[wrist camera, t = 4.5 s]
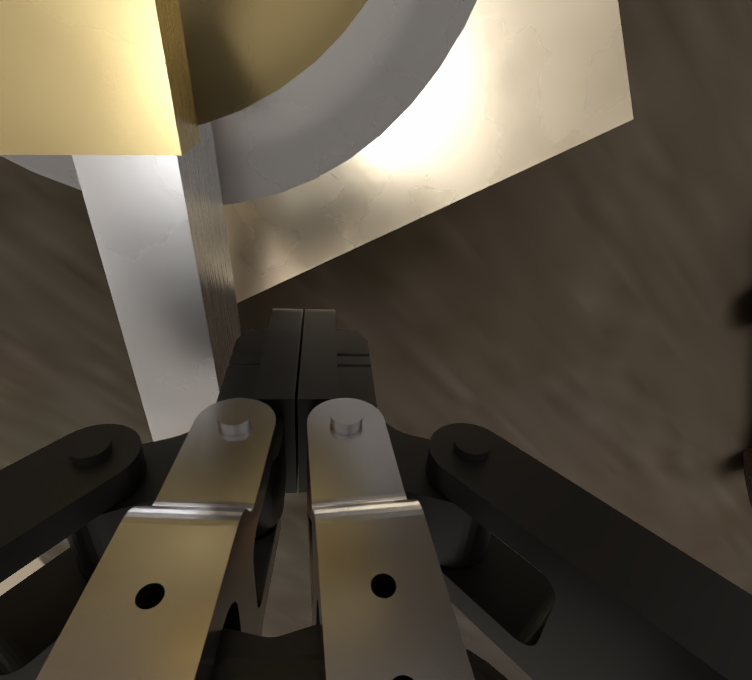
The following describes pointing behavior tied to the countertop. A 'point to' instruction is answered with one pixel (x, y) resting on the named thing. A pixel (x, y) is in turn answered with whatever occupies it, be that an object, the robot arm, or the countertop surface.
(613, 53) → the cap housing
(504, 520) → the robot arm
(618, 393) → the countertop surface
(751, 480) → the bolt
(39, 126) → the yellow disc with lever
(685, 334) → the countertop surface
